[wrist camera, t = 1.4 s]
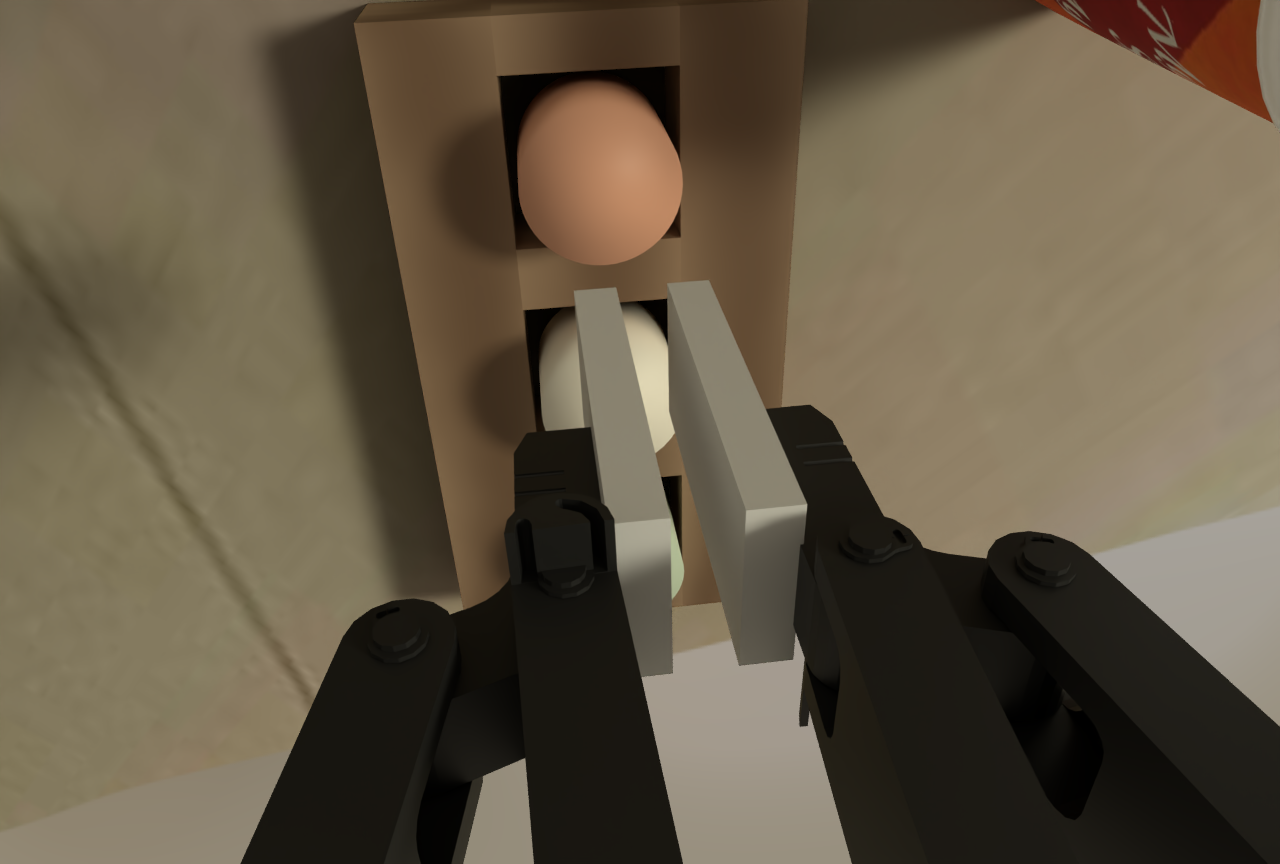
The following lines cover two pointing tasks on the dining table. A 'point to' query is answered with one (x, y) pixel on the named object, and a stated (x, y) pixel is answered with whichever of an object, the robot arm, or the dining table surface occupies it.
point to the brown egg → (596, 169)
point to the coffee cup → (1197, 42)
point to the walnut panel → (531, 272)
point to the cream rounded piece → (564, 371)
